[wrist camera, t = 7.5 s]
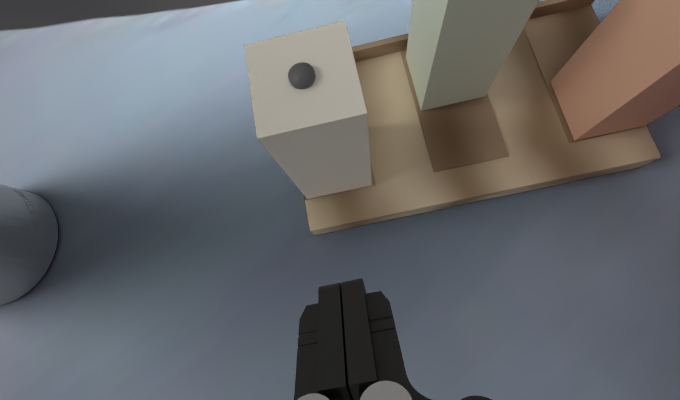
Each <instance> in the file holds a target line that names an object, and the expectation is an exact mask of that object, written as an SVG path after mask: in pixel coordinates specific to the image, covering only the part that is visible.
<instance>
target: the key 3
mask: <svg viewBox="0 0 680 400" xmlns="http://www.w3.org/2000/svg"><path fill="white" fill-rule="evenodd" d="M551 84H552V87H553V89H554V92H555V94H556V97H557V99H558V102H559V104H560V107H561V109H562V112H563V114H564V117H565V119H566V121H567V124H568V126H569V129H570V131H571V134H572V136H573V139H574V141H576V140H580V139H585V138H590V137H594V136H599V135H604V134H608V133H613V132H618V131H622V130H627V129H631V128H636V127H641V126H645V125H647V124H648V123H650V122H652V121H654V120H655V119H657V118H659V117H660V116H662V115H664V114H665V113H667V112H669V111H670V110H672V109H674V108H675V107H677V106H679V105H680V0H620V1H619V2H618V3H617V4H616V5H615V6H614V8H613V9H612V10H611V11H610V12H609V14H608V15H607V16H606V17H605V18H604V19H603V21H602V22H601V23H600V24H599V25H598V26H597V28H596V29H595V30H594V31H593V32H592V34H591V35H590V36H589V37H588V38H587V39H586V41H585V42H584V43H583V44H582V45H581V46H580V48H579V49H578V50H577V51H576V52H575V54H574V55H573V56H572V57H571V58H570V59H569V61H568V62H567V63H566V64H565V65H564V66H563V68H562V69H561V70H560V71H559V72H558V74H557V75H556V76H555V77H554V78H553V79H552V81H551Z"/></svg>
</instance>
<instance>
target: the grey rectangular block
mask: <svg viewBox="0 0 680 400" xmlns="http://www.w3.org/2000/svg"><path fill="white" fill-rule="evenodd" d="M244 48H245V55H246V63H247V70H248V77H249V84H250V92H251V99H252V106H253V113H254V120H255V128H256V135H257V139H258V140H259V142H260V143H261V144H262V145H263V146H264V148H265V149H266V150H267V151H268V152H269V154H270V155H271V156H272V157H273V158H274V160H275V161H276V162H277V163H278V164H279V166H280V167H281V168H282V169H283V170H284V172H285V173H286V174H287V175H288V176H289V178H290V179H291V180H292V181H293V182H294V184H295V185H296V186H297V187H298V188H299V190H300V191H301V192H302V193H303V194H304V196H305V197H306V198H307V199H310V198H315V197H319V196H324V195H329V194H333V193H338V192H343V191H347V190H352V189H357V188H361V187H366V186H370V185H372V180H371V164H370V149H369V134H368V119H367V111H366V106H365V102H364V98H363V94H362V89H361V85H360V81H359V77H358V73H357V68H356V64H355V60H354V56H353V51H352V47H351V43H350V39H349V34H348V30H347V26H346V22H345V21H341V22H337V23H333V24H328V25H324V26H320V27H316V28H312V29H308V30H304V31H300V32H296V33H292V34H288V35H284V36H280V37H276V38H272V39H268V40H263V41H259V42H255V43H251V44H247V45H244Z"/></svg>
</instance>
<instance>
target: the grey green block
mask: <svg viewBox="0 0 680 400" xmlns="http://www.w3.org/2000/svg"><path fill="white" fill-rule="evenodd" d="M538 2H539V0H413V1H412V10H411V18H410V26H409V35H408V43H407V51H406V60H407V64H408V67H409V71H410V74H411V78H412V81H413V85H414V88H415V92H416V95H417V99H418V102H419V106H420V109H421V111H423V110H428V109H432V108H437V107H441V106H445V105H450V104H454V103H459V102H463V101H467V100H472V99H476V98H481V97H485V95H486V94H487V92H488V90H489V88H490V87H491V85H492V83H493V81H494V80H495V78H496V76H497V74H498V72H499V71H500V69H501V67H502V65H503V64H504V62H505V60H506V58H507V57H508V55H509V53H510V51H511V50H512V48H513V46H514V44H515V42H516V41H517V39H518V37H519V35H520V34H521V32H522V30H523V28H524V27H525V25H526V23H527V21H528V20H529V18H530V16H531V14H532V13H533V11H534V9H535V7H536V5H537V4H538Z"/></svg>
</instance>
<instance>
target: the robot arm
mask: <svg viewBox="0 0 680 400" xmlns="http://www.w3.org/2000/svg"><path fill="white" fill-rule="evenodd" d="M57 240H58V224H57V220H56V217H55V214H54V212H53V210H52V208H51V207H50V205H49V204H48V203H47V202H46V201H45V200H44V199H43V198H41V197H40V196H38V195H36V194H34V193H30V192H27V191H23V190H19V189H16V188H12V187H8V186H4V185H1V184H0V305H3V304H7V303H9V302H12V301H14V300H17V299H18V298H20V297H21V296H23V295H24V294H26V293H27V292H29V291H30V290H31V289H32V288H33V287H34V286H35V285H36V284H37V283H38V282H39V281H40V279H41V278H42V277H43V275H44V274H45V273H46V271H47V269H48V267H49V266H50V264H51V262H52V260H53V257H54V254H55V251H56V247H57ZM294 400H431V399H428V398H426V397H424V396H422V395H421V394H420V393H418V392H417V391H416V390H415V389H414V388H413V387H412V385H411V384H410V382H409V380H408V378H407V375H406V371H405V367H404V362H403V358H402V354H401V349H400V345H399V341H398V336H397V332H396V328H395V323H394V319H393V315H392V310H391V306H390V302H389V301H388V299H387V298H386V297H385V296H384V295H383V293H382V292H381V291H379V292H374V293H368V294H366V291H365V287H364V283H363V279H357V280H352V281H347V282H342V283H341V284H340V283H337V284H332V285H327V286H322V287H319V303H318V304H313V305H308V306H306V308H305V310H304V312H303V314H302V316H301V318H300V322H299V337H298V351H297V366H296V381H295V394H294ZM461 400H491V399H489V398H486V397H483V396H469V397H465V398H463V399H461Z"/></svg>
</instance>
